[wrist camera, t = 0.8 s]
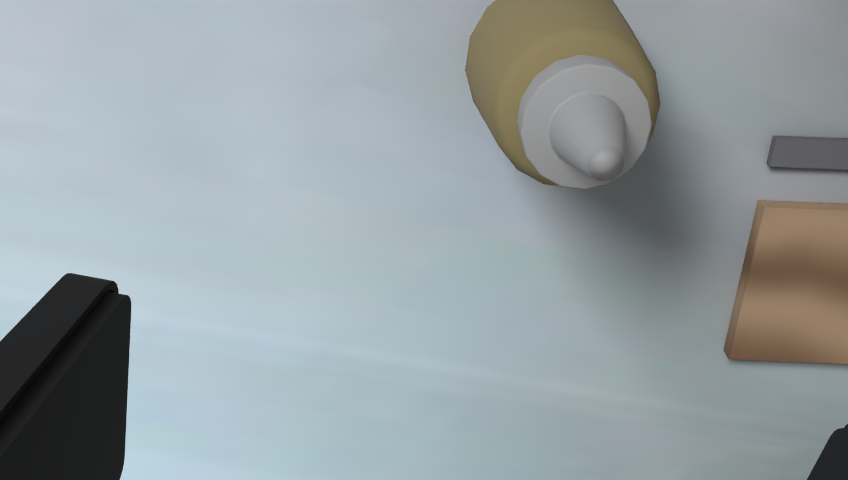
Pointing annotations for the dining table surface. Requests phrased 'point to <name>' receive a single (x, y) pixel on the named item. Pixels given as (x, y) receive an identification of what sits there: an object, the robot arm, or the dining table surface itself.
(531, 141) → the squeeze bottle
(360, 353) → the dining table surface
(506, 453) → the dining table surface
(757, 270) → the board
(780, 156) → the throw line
